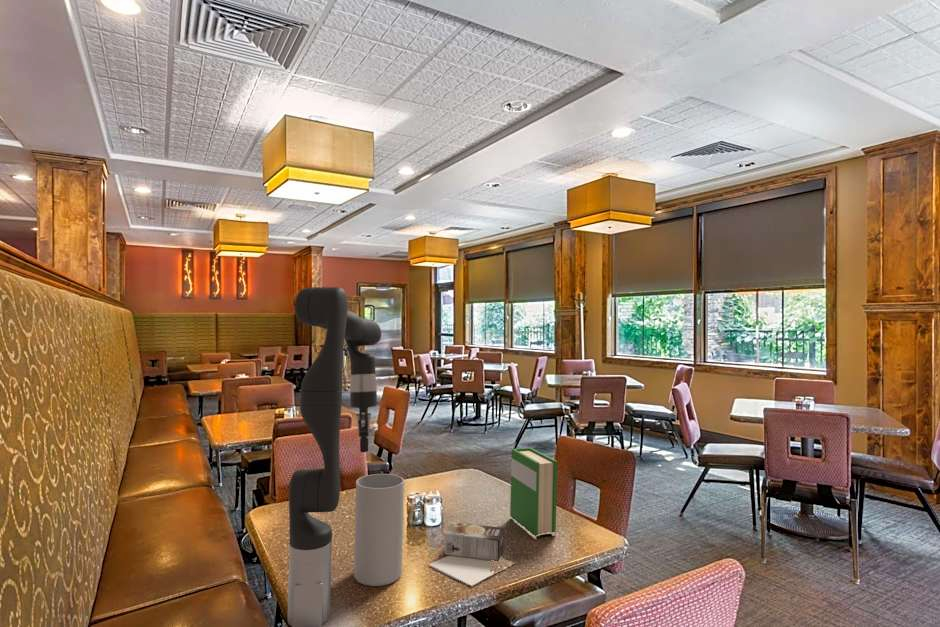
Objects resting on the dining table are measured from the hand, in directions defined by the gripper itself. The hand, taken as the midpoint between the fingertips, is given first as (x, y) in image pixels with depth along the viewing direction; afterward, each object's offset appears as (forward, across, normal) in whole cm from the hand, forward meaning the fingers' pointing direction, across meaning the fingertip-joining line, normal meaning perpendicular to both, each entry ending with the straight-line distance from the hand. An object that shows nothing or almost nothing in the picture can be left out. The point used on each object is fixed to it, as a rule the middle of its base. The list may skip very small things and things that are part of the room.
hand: (364, 451), depth 149 cm
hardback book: (+30, +19, -53) cm, 64 cm away
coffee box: (+27, +5, -23) cm, 36 cm away
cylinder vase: (+32, -7, -3) cm, 32 cm away
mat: (+32, -4, -29) cm, 44 cm away
